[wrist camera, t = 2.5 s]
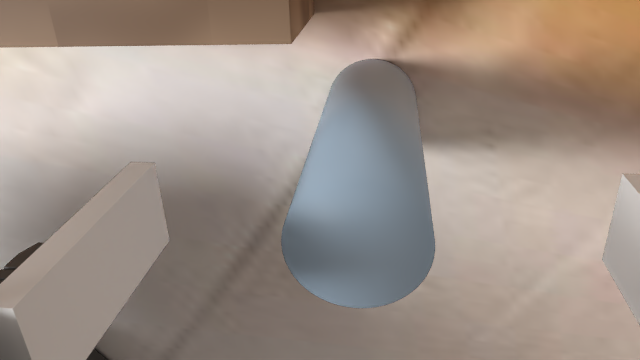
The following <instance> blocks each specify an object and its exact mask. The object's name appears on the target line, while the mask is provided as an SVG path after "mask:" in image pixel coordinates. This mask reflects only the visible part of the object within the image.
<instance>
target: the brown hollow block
mask: <svg viewBox="0 0 640 360" xmlns="http://www.w3.org/2000/svg"><path fill="white" fill-rule="evenodd" d="M313 15H314V0H0V47H74V46H156V45H238V44H291V43H292V42H293V41H294V39H295V38H296V37H297V36H298V34H299V33H300V32H301V30H302V29H303V28H304V26H305V25H306V24H307V22H308V21H309V20H310V19H311V17H312V16H313Z"/></svg>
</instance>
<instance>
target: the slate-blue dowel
mask: <svg viewBox="0 0 640 360" xmlns="http://www.w3.org/2000/svg"><path fill="white" fill-rule="evenodd" d="M281 245H282V251H283V255H284V259H285V262H286V264H287V266H288V268H289V270H290V271H291V273H292V274H293V276H294V277H295V278H296V279H297V281H298V282H299V283H300V284H301V285H302V286H303V287H304V288H306V289H307V290H308V291H310V292H311V293H312V294H314V295H316V296H317V297H319V298H321V299H323V300H325V301H328V302H330V303H333V304H336V305H340V306H345V307H351V308H372V307H379V306H383V305H387V304H390V303H393V302H395V301H397V300H400V299H402V298H403V297H405V296H407V295H408V294H410V293H411V292H412V291H413V290H415V289H416V288H417V287H418V286H419V285H420V284H421V283H422V282H423V280H424V279H425V277H426V276H427V274H428V272H429V270H430V268H431V266H432V263H433V259H434V253H435V239H434V231H433V223H432V216H431V208H430V200H429V193H428V185H427V177H426V170H425V162H424V154H423V147H422V139H421V131H420V124H419V116H418V108H417V101H416V94H415V90H414V86H413V84H412V82H411V80H410V79H409V77H408V76H407V75H406V74H405V72H404V71H402V70H401V69H400V68H399V67H397V66H396V65H394V64H392V63H390V62H387V61H384V60H379V59H367V60H362V61H358V62H355V63H353V64H351V65H349V66H348V67H346V68H345V69H344V70H343V71H342V72H340V74H339V75H338V76H337V77H336V79H335V80H334V82H333V84H332V86H331V89H330V92H329V95H328V98H327V101H326V104H325V107H324V109H323V112H322V115H321V118H320V121H319V124H318V127H317V130H316V133H315V136H314V138H313V141H312V144H311V147H310V150H309V153H308V156H307V159H306V162H305V164H304V167H303V170H302V173H301V176H300V179H299V182H298V185H297V188H296V190H295V193H294V196H293V199H292V202H291V205H290V208H289V211H288V214H287V217H286V219H285V223H284V226H283V230H282V236H281Z"/></svg>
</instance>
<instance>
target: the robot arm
mask: <svg viewBox="0 0 640 360" xmlns="http://www.w3.org/2000/svg"><path fill="white" fill-rule="evenodd" d="M169 241H170V239H169V234H168V229H167V224H166V219H165V213H164V208H163V203H162V198H161V193H160V188H159V182H158V177H157V172H156V167H155V163H148V162H130V163H129V164H128V165H127V166H126V167H125V168H124V169H123V170H122V171H121V172H119V173H118V174H117V175H116V176H115V177H114V178H113V179H112V180H111V181H110V182H109V183H108V184H107V185H106V186H105V187H103V188H102V189H101V190H100V191H99V192H98V193H97V194H96V195H95V196H94V197H93V198H92V199H91V200H90V201H88V202H87V203H86V204H85V205H84V206H83V207H82V208H81V209H80V210H79V211H78V212H77V213H76V214H75V215H73V216H72V217H71V218H70V219H69V220H68V221H67V222H66V223H65V224H64V225H63V226H62V227H61V228H60V229H59V230H57V231H56V232H55V233H54V234H53V235H52V236H51V237H50V238H49V239H48V240H47V241H46V242H45V243H37V244H35V245H34V246H32V247H30V248H28V249H26V250H25V251H23V252H21V253H19V254H18V255H17V256H16V257H14V258H13V259H12V260H11V261H10V262H9V263H8V264H7V265H6V266H5V267H4V270H3V269H1V270H0V360H106V359H105V358H104V357H103V356H102V355H101V354H99V353H98V352H97V351H96V350H95V349H94V348H95V346H96V345H97V343H98V342H99V341H100V339H101V338H102V336H103V335H104V333H105V332H106V331H107V329H108V328H109V326H110V325H111V323H112V322H113V321H114V319H115V318H116V316H117V315H118V313H119V312H120V311H121V309H122V308H123V306H124V305H125V303H126V302H127V301H128V299H129V298H130V296H131V295H132V293H133V292H134V291H135V289H136V288H137V286H138V285H139V283H140V282H141V281H142V279H143V278H144V276H145V275H146V273H147V272H148V271H149V269H150V268H151V266H152V265H153V263H154V262H155V261H156V259H157V258H158V256H159V255H160V253H161V252H162V251H163V249H164V248H165V246H166V245H167V243H168V242H169ZM602 260H603V262H604V264H605V266H606V267H607V269H608V271H609V273H610V274H611V276H612V278H613V280H614V281H615V283H616V285H617V287H618V288H619V290H620V292H621V294H622V295H623V297H624V299H625V301H626V302H627V304H628V306H629V308H630V310H631V311H632V313H633V315H634V317H635V318H636V320H637V322H638V324H639V325H640V174H622V178H621V182H620V186H619V190H618V194H617V199H616V203H615V207H614V211H613V216H612V220H611V224H610V228H609V232H608V237H607V241H606V245H605V249H604V253H603V258H602Z"/></svg>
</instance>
